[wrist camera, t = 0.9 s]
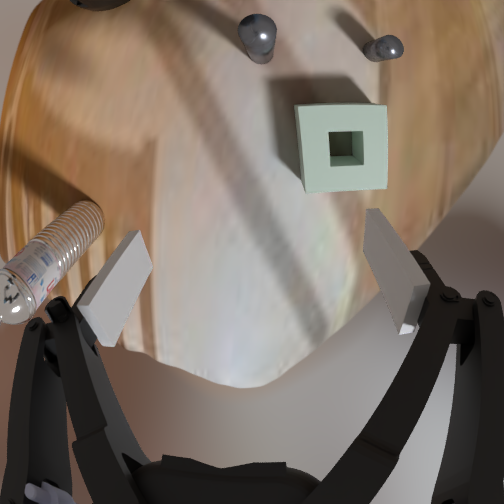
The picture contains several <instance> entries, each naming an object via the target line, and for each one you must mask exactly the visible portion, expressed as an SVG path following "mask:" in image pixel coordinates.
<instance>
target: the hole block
mask: <svg viewBox="0 0 504 504" xmlns="http://www.w3.org/2000/svg"><path fill="white" fill-rule="evenodd" d="M294 111H295V120H296V129H297V139H298V149H299V160H300V172H301V181H302V184H303V187H304V190H305V193H306V194H309V193H322V192H336V191H352V190H371V189H387V175H388V128H387V106H386V105H381V104H375V103H315V104H297V105H294ZM340 131H351V133H352V155H350V156H330V150H329V135H328V132H340Z"/></svg>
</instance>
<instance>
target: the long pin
mask: <svg viewBox="0 0 504 504" xmlns="http://www.w3.org/2000/svg"><path fill="white" fill-rule="evenodd" d="M276 32H277V28H276V25H275V23H274V21H273V20H272V19H271V18H269V17H268V16H266V15H262V14H252V15H249V16H247V17H245V18H244V19H243V20H242V21H241V22H240V24H239V26H238V34H239V36H240V38H241V40H242V42H243V44H244V46H245V48H246V50H247V52H248V54H249V56H250V58H251V59H252V61H254V62H255V63H257V64H266V63H268V62H270V61H271V59H272V58H273V53H274V46H275V39H276Z"/></svg>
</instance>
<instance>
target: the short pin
mask: <svg viewBox="0 0 504 504" xmlns="http://www.w3.org/2000/svg"><path fill="white" fill-rule="evenodd" d="M363 52H364V55H365V56H366V58H367V59H369V60H370V61H373V62H379V61H384V60H389V59H395V58H399V57H401V56H402V54H403V52H404V47H403V44H402V42H401V41H400V40H399V39H398V38H397V37H395V36H393V35H386V36H383V37H381V38H378V39H376V40H373V41H371V42H368V43H366V44H365V46H364V48H363Z"/></svg>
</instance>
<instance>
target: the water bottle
mask: <svg viewBox="0 0 504 504" xmlns="http://www.w3.org/2000/svg"><path fill="white" fill-rule="evenodd" d="M104 225H105V220H104V215H103V213H102V211H101V209H100V208H99V207H98V206H97V205H96V204H95V203H93V202H92V201H89V200H81V201H78V202H76V203H75V204H73V205H72V206H71V207H69V208H68V209H67V210H66V211H64V212H63V213H62V214H61V215H59V216H58V217H57V218H56V219H54V220H53V221H52V222H51V223H50V224H48V225H47V226H46V227H45V228H44V229H42V230H41V231H40V232H39V233H38V234H37V235H36V236H34V237H33V238H32V239H31V240H30V241H29V242H28V244H27V245H26V246H25V247H24V248H22V249H21V250H20V251H19V252H18V253H17V254H16V255H15V256H14V257H13V258H12V259H11V260H10V261H9V262H8V263H7V264H6V265H5V266H4V267H3V268H2V269H0V324H1V322H4V323H8V324H22V323H26V322H28V321H29V320H30V319H31V318H32V316H33V315H34V314H35V312H36V309H37V308H38V307H39V305H40V304H41V303H42V301H43V300H44V299H45V298H46V296H47V295H48V294H49V293H50V291H51V290H52V289H53V288H54V286H55V285H56V284H57V283H58V282H59V281H60V280H61V279H62V278H63V277H64V276H65V274H66V273H67V272H68V271H69V270H70V268H71V267H72V266H73V265H74V264H75V263H76V261H77V260H78V259H79V258H80V257H81V256H82V254H84V252H85V251H86V250H87V249H88V248H89V247H90V246H91V245H92V244H93V242H94V241H95V240H96V239H97V238H98V237H99V236H100V234H101V233H102V231H103V229H104Z"/></svg>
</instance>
